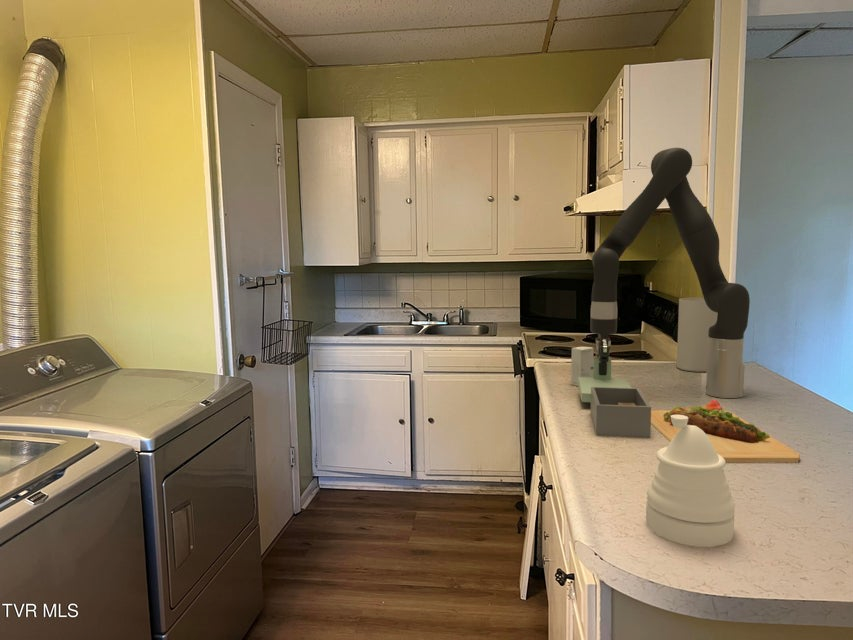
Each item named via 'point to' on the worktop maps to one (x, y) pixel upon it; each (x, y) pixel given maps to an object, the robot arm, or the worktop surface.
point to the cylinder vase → (694, 334)
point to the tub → (620, 412)
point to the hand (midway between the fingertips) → (602, 374)
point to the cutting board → (727, 434)
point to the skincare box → (581, 363)
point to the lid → (599, 381)
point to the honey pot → (690, 491)
